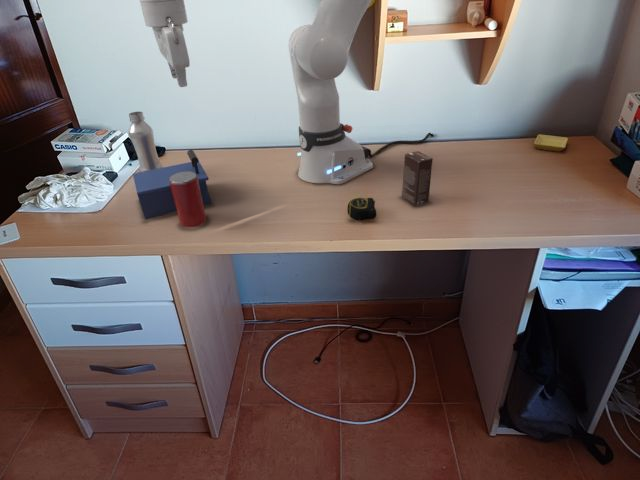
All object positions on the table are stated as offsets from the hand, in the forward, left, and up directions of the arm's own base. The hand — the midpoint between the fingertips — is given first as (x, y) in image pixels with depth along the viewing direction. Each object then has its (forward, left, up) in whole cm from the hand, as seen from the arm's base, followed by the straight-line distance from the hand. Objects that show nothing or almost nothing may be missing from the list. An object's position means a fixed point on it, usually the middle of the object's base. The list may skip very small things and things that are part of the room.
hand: (179, 81), depth 103 cm
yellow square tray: (-99, +36, -31) cm, 110 cm away
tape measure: (-28, +33, -31) cm, 53 cm away
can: (+7, +9, -31) cm, 33 cm away
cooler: (+7, -4, -31) cm, 32 cm away
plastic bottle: (+7, -23, -31) cm, 39 cm away
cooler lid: (+7, -4, -24) cm, 25 cm away
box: (-43, +35, -31) cm, 64 cm away
